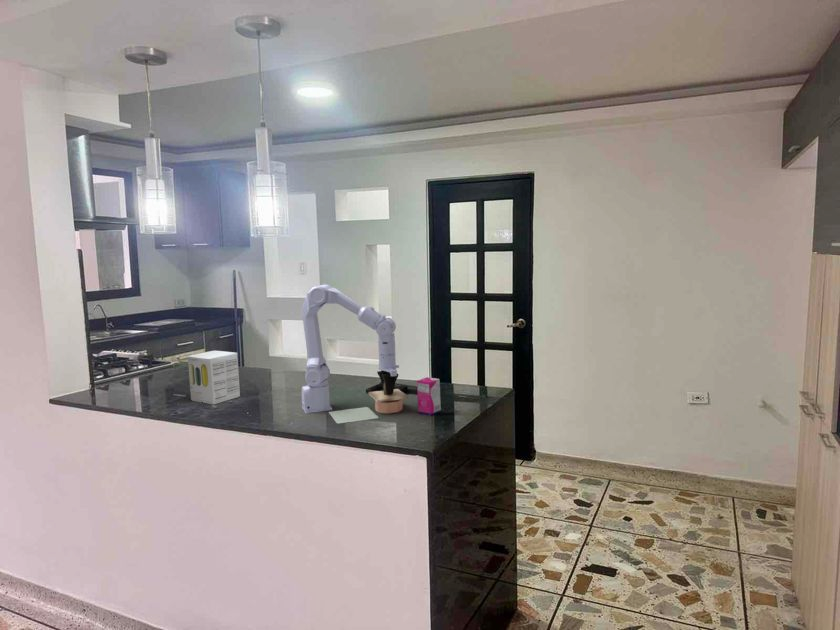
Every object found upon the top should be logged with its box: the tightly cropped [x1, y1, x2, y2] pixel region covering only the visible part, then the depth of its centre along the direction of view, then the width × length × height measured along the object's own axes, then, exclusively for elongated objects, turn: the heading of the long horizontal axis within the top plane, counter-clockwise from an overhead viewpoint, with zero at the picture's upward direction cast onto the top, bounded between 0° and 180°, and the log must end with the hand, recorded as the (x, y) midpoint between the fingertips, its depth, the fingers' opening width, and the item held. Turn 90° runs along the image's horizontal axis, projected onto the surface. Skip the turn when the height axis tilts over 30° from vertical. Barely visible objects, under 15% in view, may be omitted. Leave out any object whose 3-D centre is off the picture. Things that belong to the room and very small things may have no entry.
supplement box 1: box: [187, 350, 241, 405], centre depth 214 cm, size 13×13×18 cm
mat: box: [328, 406, 379, 424], centre depth 188 cm, size 14×14×1 cm
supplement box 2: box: [416, 376, 442, 416], centre depth 190 cm, size 6×6×12 cm
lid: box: [368, 383, 409, 402], centre depth 193 cm, size 11×11×5 cm
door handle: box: [365, 381, 418, 395], centre depth 215 cm, size 3×20×16 cm
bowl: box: [374, 399, 404, 414], centre depth 194 cm, size 9×9×4 cm
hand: (388, 392), depth 193 cm, fingers closed on lid, 3 cm apart
